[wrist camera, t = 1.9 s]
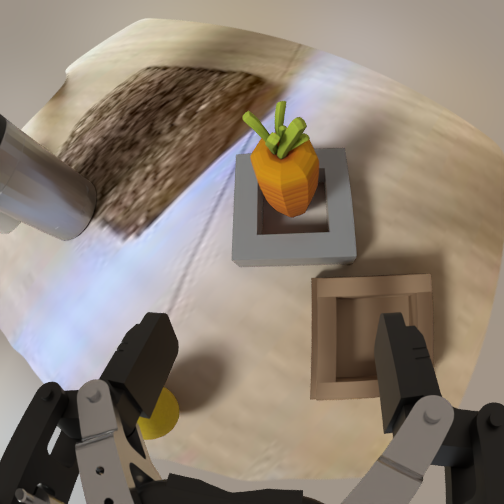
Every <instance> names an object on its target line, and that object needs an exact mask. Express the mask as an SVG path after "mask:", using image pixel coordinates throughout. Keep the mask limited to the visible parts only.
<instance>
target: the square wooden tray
mask: <svg viewBox="0 0 504 504" xmlns="http://www.w3.org/2000/svg"><path fill="white" fill-rule="evenodd" d="M311 280H312V355H311V391H310V399H316V400H345V399H362V398H375V397H380V393H379V386H378V378H377V371H376V365H375V358H374V345H375V339H376V334H377V329H378V323H379V318H380V314H381V313H394V312H401V313H402V315H403V318H404V321H405V325H406V326H413V325H415V326H416V328H417V329H418V330H419V331H420V332H421V333H422V334H423V336H424V339H425V342H426V345H427V349H428V351H429V355H430V359H431V361H432V364H433V353H434V323H433V297H432V282H431V274H426V273H422V274H403V275H381V276H357V277H329V278H311Z"/></svg>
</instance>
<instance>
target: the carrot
mask: <svg viewBox="0 0 504 504" xmlns="http://www.w3.org/2000/svg"><path fill="white" fill-rule="evenodd" d="M285 109H286V101H281V102H278V103H277V105H276V111H275V133H273V132H272V133H271V134H269V133H268V131H267V130H266V129H265V127H264V126H263V125H262V123H261V122H260V121H259V119H258V118H257V117H256V116H255V115H253V114H252V113H251V112H249V111H248V112H246V113H245V114H244V115H243V120H244V121H245V122H246V123H247V124H248V125H249V126H250V127H251V128H252V129H253V130H254V131H255V132H256V133H257V134H258V135H259V136H260V137H261V140H260V141H259V143H258V144H257V146H256V148H255V149H254V151H253V152H252V154H251V156H250V159H251V163H252V166H253V169H254V172H255V175H256V178H257V181H258V183H259V186H260V188H261V190H262V192H263V194H264V196H265V198H266V200H267V202H268V203H269V204H270V205H271V206H272V207H273V208H274V209H275V210H276V211H278V212H280V213H282V214H284V215H287V216H289V217H295V216H298V215H301V214H303V213H305V211H306V210H307V208H308V206H309V204H310V202H311V200H312V198H313V196H314V194H315V191H316V188H317V185H318V177H319V159H318V157H317V155H316V153H315V150H314V148H313V146H312V144H311V142H310V140H309V139H310V138H309V136H308V135H307V134H305V133H303V132H304V130H305V128H306V127H307V125H306V123H305V121H304V120H303V119H302V118H301V117H297V118H295V119H294V120H293V121H292V122H291V123H290V125H289V126H288V128H287V127H286V126H283V124H284V115H285ZM302 133H303V134H302Z"/></svg>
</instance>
